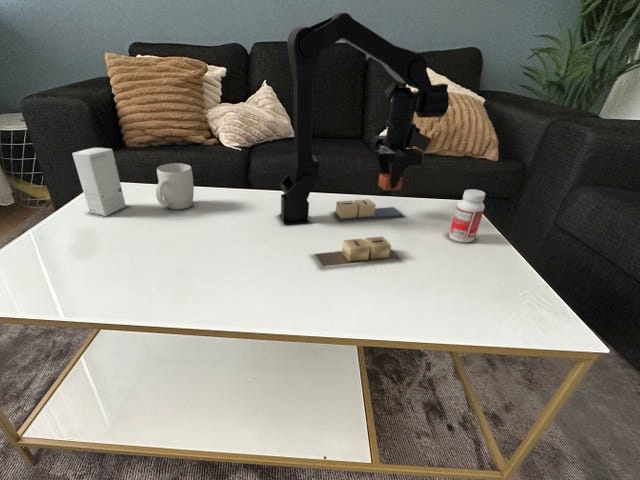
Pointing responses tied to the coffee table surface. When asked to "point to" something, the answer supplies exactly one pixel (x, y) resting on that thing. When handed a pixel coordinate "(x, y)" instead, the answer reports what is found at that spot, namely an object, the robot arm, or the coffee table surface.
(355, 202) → the far word
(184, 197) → the mug
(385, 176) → the red wooden cube
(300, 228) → the coffee table surface
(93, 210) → the cosmetic box
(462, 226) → the pill bottle
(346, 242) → the near word
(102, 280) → the coffee table surface
